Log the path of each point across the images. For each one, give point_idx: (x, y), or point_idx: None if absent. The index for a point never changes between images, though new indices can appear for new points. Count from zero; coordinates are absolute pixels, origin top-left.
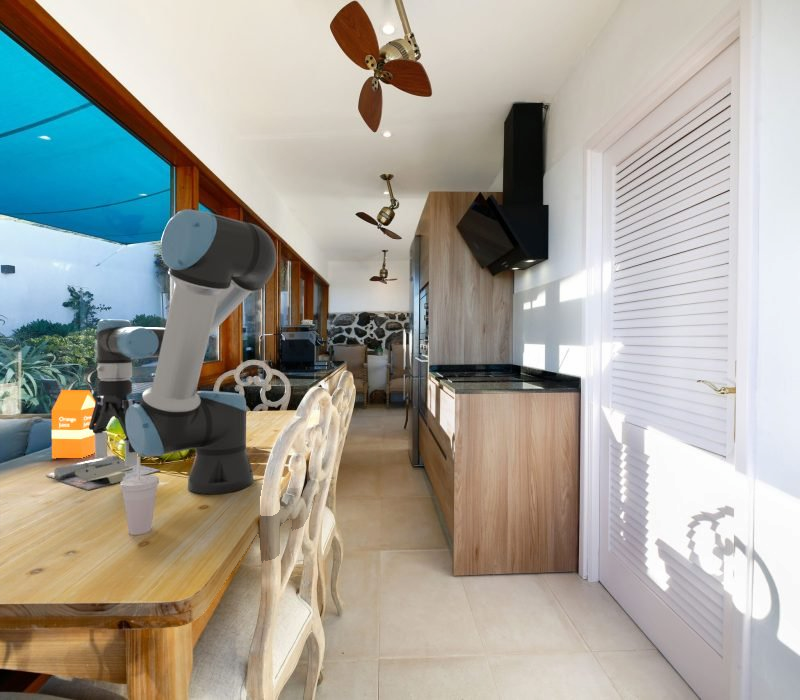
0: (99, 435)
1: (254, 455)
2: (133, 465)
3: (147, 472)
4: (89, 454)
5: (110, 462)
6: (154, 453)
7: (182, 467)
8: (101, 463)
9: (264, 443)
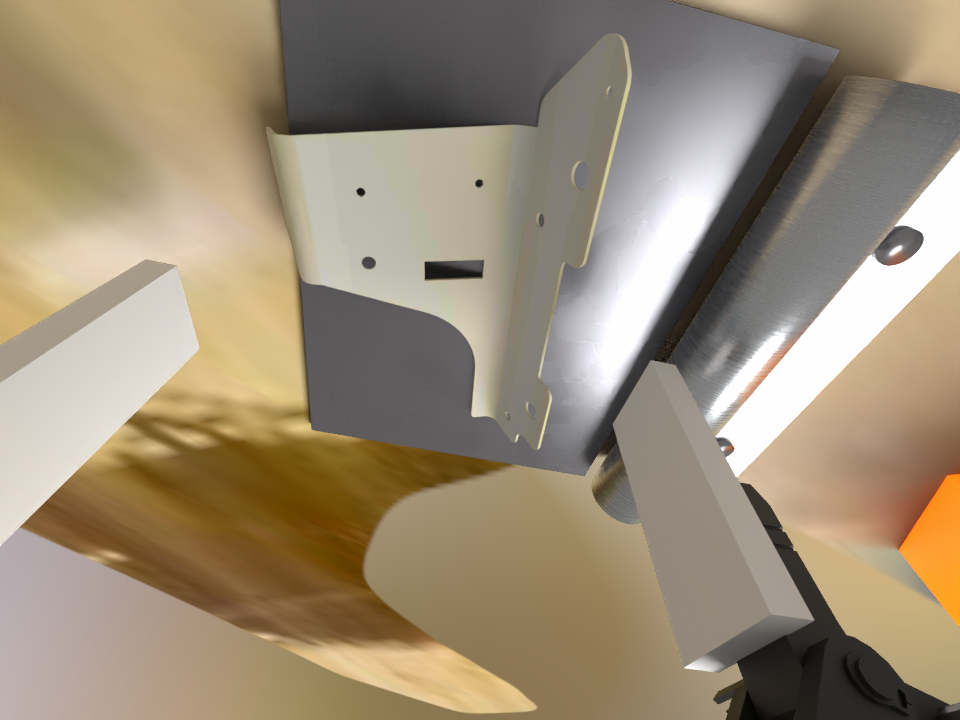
0: (724, 600)
1: (216, 602)
2: (524, 451)
3: (327, 387)
4: (927, 521)
5: None
6: None
7: (285, 481)
8: None
9: (327, 664)
